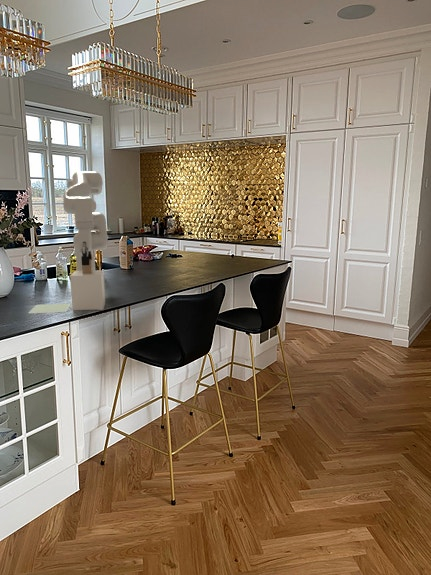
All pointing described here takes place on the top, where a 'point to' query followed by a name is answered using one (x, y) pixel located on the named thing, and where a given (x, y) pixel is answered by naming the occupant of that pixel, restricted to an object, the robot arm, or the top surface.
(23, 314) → the top surface
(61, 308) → the mat
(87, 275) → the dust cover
